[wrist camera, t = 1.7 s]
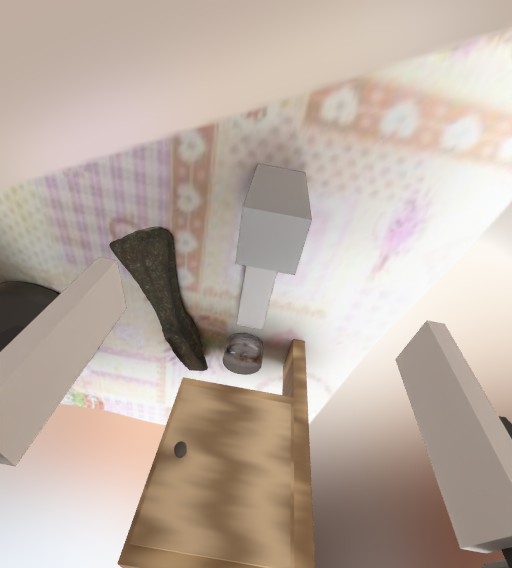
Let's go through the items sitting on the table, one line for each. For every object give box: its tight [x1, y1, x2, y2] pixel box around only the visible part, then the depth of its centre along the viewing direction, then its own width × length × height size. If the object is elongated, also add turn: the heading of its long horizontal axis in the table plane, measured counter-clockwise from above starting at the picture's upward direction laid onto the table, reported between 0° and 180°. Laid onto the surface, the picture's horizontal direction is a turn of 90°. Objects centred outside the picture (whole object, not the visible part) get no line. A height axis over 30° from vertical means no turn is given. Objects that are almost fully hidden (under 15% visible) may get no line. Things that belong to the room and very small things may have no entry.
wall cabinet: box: [118, 340, 315, 568], centre depth 28 cm, size 14×7×22 cm, turn 81°
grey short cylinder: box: [223, 333, 263, 375], centre depth 36 cm, size 5×5×3 cm
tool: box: [110, 227, 208, 371], centre depth 33 cm, size 21×8×3 cm, turn 15°
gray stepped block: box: [235, 164, 312, 330], centre depth 24 cm, size 4×17×9 cm, turn 171°
